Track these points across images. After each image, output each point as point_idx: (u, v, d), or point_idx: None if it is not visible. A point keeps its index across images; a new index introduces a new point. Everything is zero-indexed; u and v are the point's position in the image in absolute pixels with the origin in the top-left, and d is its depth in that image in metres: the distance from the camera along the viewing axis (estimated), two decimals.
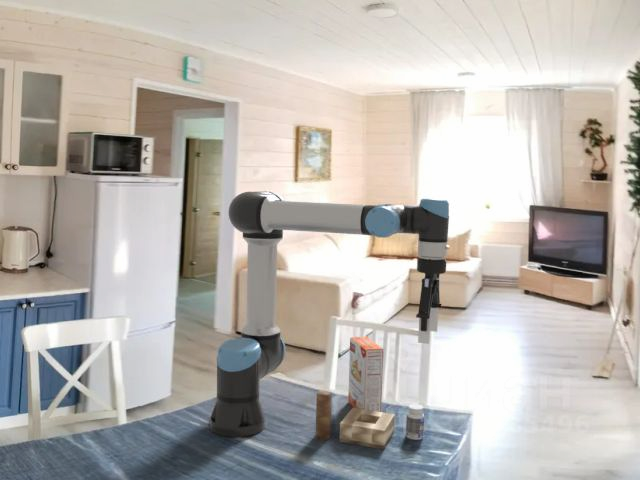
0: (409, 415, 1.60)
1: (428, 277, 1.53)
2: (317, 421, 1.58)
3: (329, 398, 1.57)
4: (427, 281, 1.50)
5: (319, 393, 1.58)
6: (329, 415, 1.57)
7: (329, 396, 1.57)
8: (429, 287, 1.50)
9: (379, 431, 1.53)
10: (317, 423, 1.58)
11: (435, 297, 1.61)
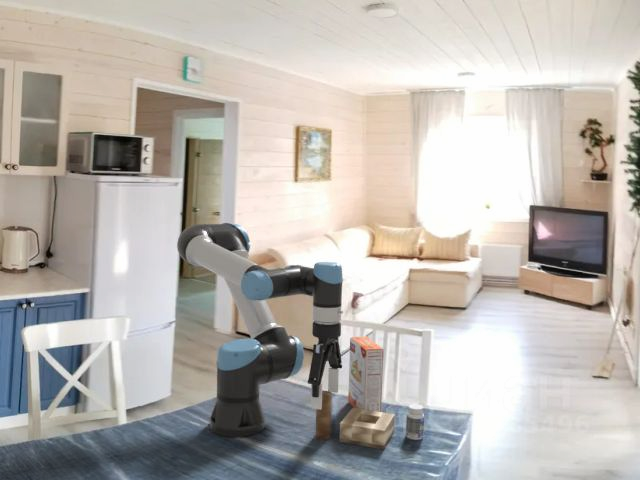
0: (409, 415, 1.60)
1: (321, 342, 1.53)
2: (317, 421, 1.58)
3: (329, 398, 1.57)
4: (318, 347, 1.50)
5: None
6: (329, 415, 1.57)
7: (329, 396, 1.57)
8: (320, 353, 1.50)
9: (379, 431, 1.53)
10: (317, 423, 1.58)
11: (334, 359, 1.61)
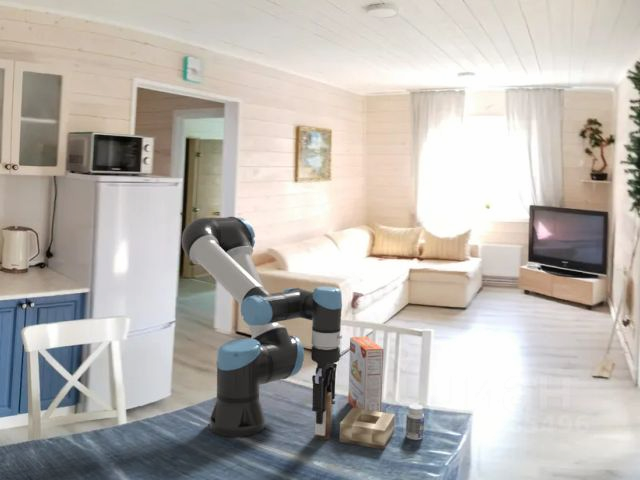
0: (409, 415, 1.60)
1: (320, 367, 1.54)
2: None
3: (329, 398, 1.57)
4: (316, 379, 1.51)
5: None
6: (329, 415, 1.57)
7: (329, 396, 1.57)
8: (320, 384, 1.52)
9: (379, 431, 1.53)
10: None
11: (329, 389, 1.60)
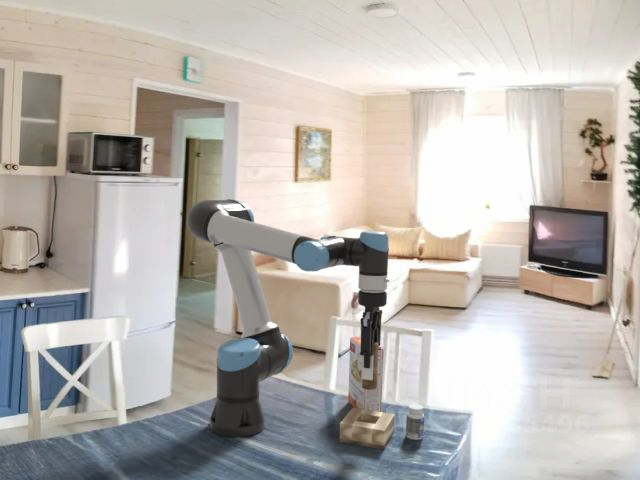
0: (409, 415, 1.60)
1: (368, 310, 1.53)
2: None
3: (376, 347, 1.56)
4: (365, 322, 1.51)
5: None
6: (376, 365, 1.57)
7: (376, 345, 1.56)
8: (368, 327, 1.51)
9: (379, 431, 1.53)
10: None
11: (375, 335, 1.59)
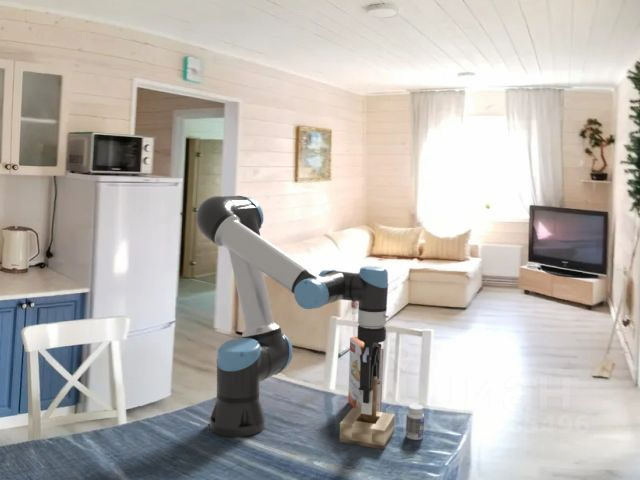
0: (409, 415, 1.60)
1: (367, 346, 1.54)
2: None
3: (375, 382, 1.57)
4: (364, 358, 1.52)
5: None
6: (375, 399, 1.58)
7: (375, 380, 1.57)
8: (367, 363, 1.52)
9: (379, 431, 1.53)
10: None
11: (374, 369, 1.60)
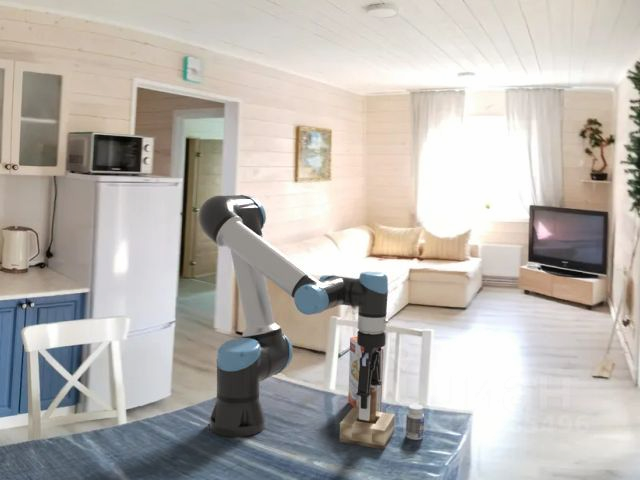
0: (409, 415, 1.60)
1: (367, 351, 1.55)
2: None
3: (374, 395, 1.58)
4: (364, 361, 1.52)
5: None
6: (374, 412, 1.58)
7: (374, 393, 1.57)
8: (367, 367, 1.52)
9: (379, 431, 1.53)
10: None
11: (375, 372, 1.61)
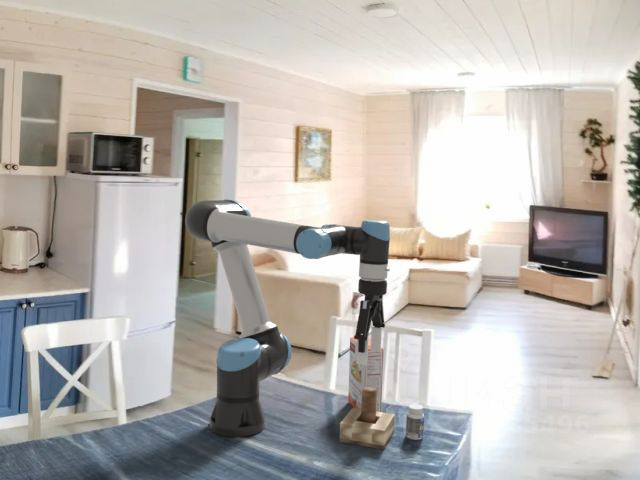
0: (409, 415, 1.60)
1: (368, 299, 1.54)
2: (362, 417, 1.59)
3: (375, 394, 1.58)
4: (365, 303, 1.51)
5: (364, 389, 1.59)
6: (374, 411, 1.58)
7: (375, 392, 1.58)
8: (367, 309, 1.51)
9: (379, 431, 1.53)
10: (362, 419, 1.59)
11: (378, 317, 1.62)
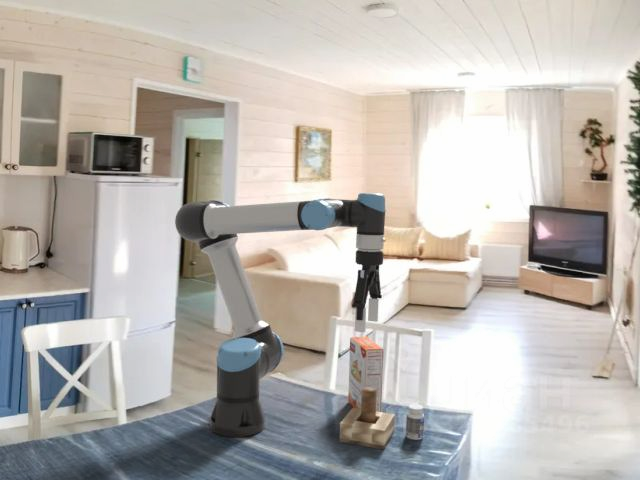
0: (409, 415, 1.60)
1: (365, 268, 1.59)
2: (362, 417, 1.59)
3: (374, 394, 1.58)
4: (362, 272, 1.56)
5: (364, 389, 1.59)
6: (374, 411, 1.58)
7: (374, 392, 1.58)
8: (364, 278, 1.56)
9: (379, 431, 1.53)
10: (362, 419, 1.59)
11: (375, 288, 1.67)
